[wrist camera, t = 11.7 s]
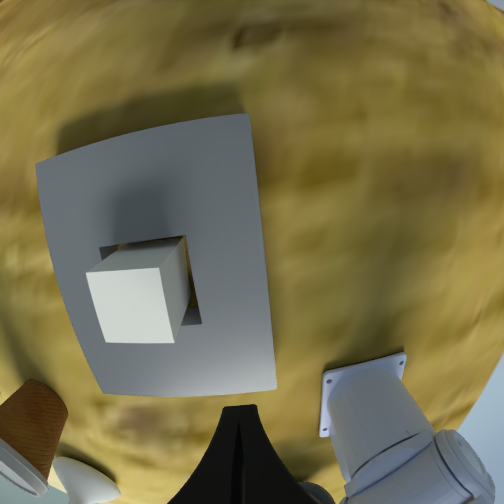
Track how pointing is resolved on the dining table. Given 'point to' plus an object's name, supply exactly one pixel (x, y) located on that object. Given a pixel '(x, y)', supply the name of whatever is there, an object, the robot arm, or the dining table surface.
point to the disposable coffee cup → (30, 436)
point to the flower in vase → (84, 482)
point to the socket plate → (162, 226)
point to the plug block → (141, 292)
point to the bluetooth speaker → (317, 493)
